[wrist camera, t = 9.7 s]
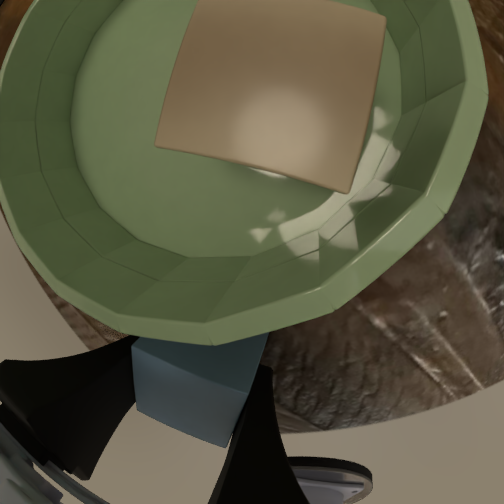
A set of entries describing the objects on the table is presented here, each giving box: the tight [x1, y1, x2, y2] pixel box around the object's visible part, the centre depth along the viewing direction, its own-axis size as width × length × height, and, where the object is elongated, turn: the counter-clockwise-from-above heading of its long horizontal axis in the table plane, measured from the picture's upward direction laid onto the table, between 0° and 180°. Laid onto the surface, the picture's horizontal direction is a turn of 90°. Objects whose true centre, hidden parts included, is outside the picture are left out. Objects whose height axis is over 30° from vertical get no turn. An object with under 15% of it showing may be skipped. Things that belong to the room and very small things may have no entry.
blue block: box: [131, 332, 269, 448], centre depth 10 cm, size 4×4×4 cm
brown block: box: [154, 0, 387, 194], centre depth 6 cm, size 4×4×4 cm
